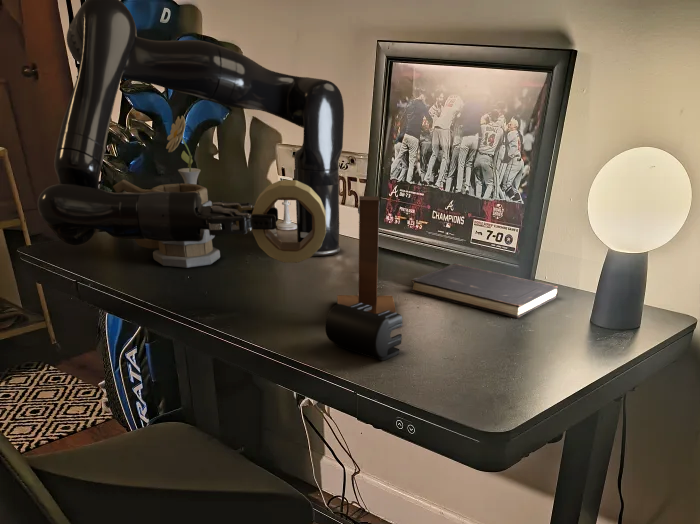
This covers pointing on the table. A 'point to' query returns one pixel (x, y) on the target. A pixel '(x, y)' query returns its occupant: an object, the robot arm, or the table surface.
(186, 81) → the robot arm
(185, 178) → the flower in vase
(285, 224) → the chess piece
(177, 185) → the tankard
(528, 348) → the table surface
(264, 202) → the masking tape
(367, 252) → the stand
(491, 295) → the hardcover book
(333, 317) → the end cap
